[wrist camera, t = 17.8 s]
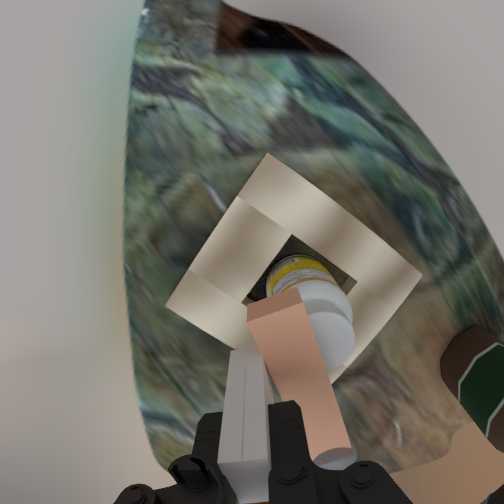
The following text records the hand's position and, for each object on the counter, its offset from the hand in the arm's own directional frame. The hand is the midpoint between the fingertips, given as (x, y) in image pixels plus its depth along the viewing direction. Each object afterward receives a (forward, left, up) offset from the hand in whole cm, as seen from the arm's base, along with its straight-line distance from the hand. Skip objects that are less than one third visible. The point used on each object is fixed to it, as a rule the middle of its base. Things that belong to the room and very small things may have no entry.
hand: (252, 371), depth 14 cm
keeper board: (-3, -2, -12) cm, 12 cm away
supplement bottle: (-3, -2, -12) cm, 13 cm away
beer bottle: (-25, -6, -12) cm, 28 cm away
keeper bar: (-4, 0, -1) cm, 4 cm away
